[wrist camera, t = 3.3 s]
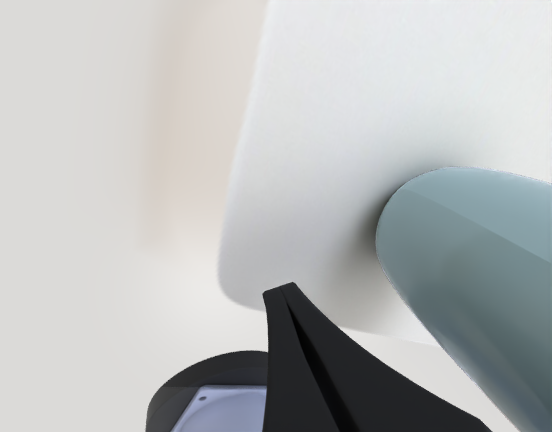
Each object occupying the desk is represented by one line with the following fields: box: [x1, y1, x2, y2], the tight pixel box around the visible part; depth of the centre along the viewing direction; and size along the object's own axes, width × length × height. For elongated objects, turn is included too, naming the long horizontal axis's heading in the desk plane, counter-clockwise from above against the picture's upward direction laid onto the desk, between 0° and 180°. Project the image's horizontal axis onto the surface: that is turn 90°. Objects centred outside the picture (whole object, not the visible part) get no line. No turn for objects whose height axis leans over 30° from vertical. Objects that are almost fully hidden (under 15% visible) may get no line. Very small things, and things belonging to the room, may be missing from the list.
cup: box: [375, 167, 552, 432], centre depth 11 cm, size 8×8×10 cm
